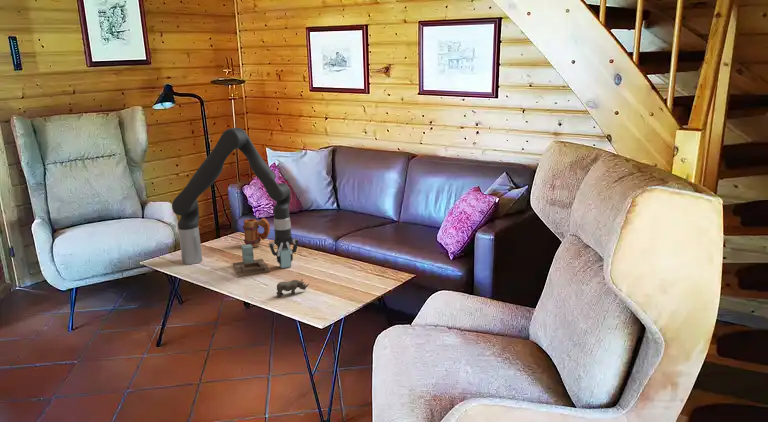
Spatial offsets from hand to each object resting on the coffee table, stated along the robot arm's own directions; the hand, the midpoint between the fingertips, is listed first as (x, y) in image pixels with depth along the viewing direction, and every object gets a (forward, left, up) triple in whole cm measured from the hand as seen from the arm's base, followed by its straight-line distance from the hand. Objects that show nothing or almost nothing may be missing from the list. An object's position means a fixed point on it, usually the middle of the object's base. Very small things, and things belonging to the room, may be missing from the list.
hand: (285, 262), depth 266 cm
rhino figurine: (+33, -5, -3) cm, 34 cm away
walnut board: (-5, -15, -2) cm, 16 cm away
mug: (-37, -6, -2) cm, 38 cm away
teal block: (0, 0, -2) cm, 2 cm away
